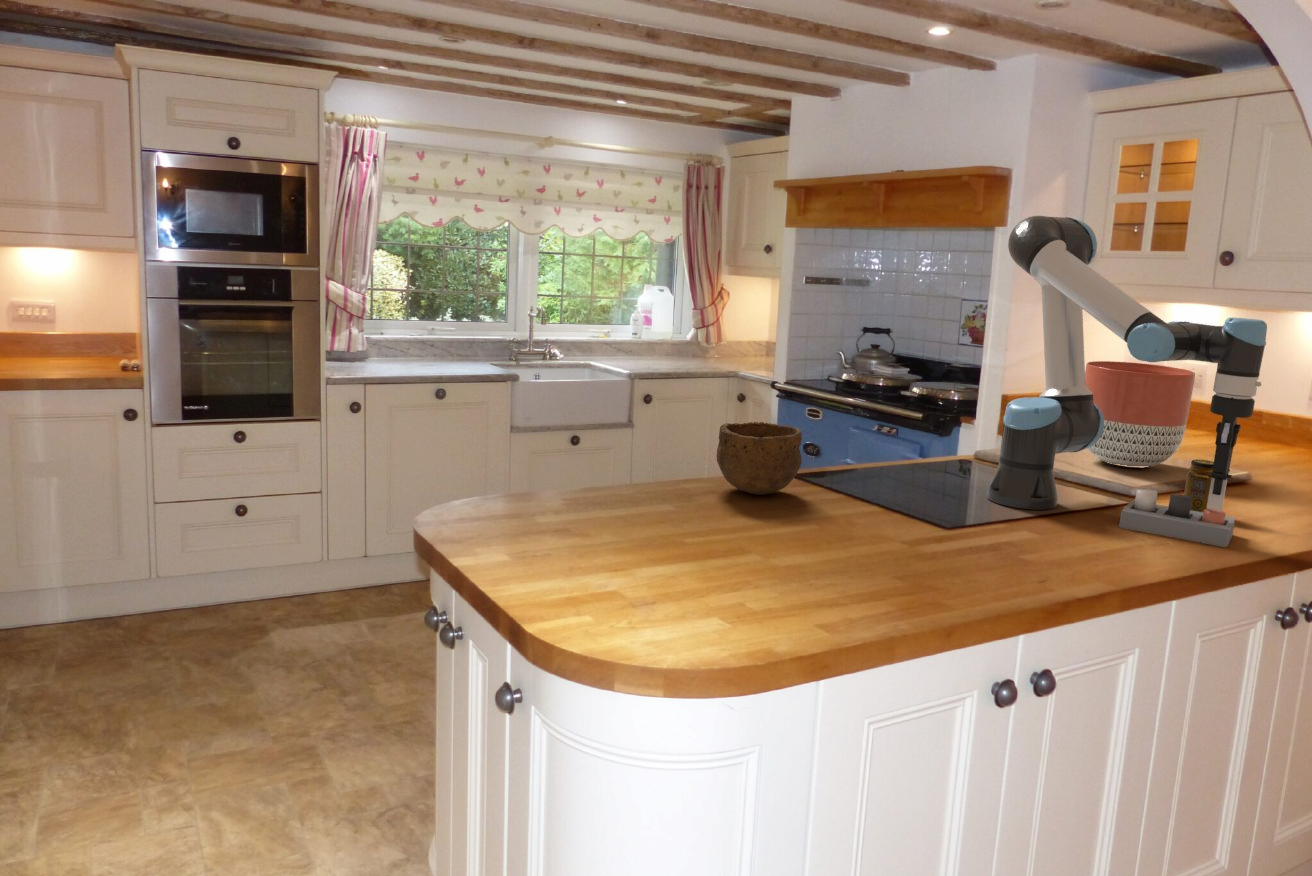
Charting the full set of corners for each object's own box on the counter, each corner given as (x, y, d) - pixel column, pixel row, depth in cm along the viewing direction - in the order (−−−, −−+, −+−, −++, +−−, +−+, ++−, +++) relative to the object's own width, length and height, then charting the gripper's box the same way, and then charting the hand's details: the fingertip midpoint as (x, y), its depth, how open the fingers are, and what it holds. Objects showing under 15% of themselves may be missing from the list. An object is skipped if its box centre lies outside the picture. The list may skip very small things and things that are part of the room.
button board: (1119, 527, 212) (1121, 510, 211) (1129, 515, 222) (1131, 500, 221) (1226, 547, 201) (1229, 530, 200) (1232, 534, 211) (1235, 518, 210)
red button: (1199, 530, 207) (1202, 511, 206) (1202, 526, 210) (1205, 507, 209) (1221, 534, 205) (1224, 515, 204) (1223, 530, 208) (1226, 511, 207)
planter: (1062, 464, 272) (1076, 365, 267) (1085, 450, 294) (1098, 358, 289) (1171, 482, 258) (1187, 378, 252) (1186, 466, 279) (1201, 369, 274)
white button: (1132, 508, 214) (1135, 490, 213) (1135, 505, 217) (1138, 487, 216) (1153, 512, 212) (1156, 494, 211) (1156, 508, 215) (1159, 490, 214)
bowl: (702, 496, 220) (706, 429, 217) (729, 478, 237) (733, 416, 234) (785, 508, 213) (791, 439, 210) (807, 489, 230) (812, 426, 227)
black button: (1166, 514, 210) (1169, 496, 209) (1169, 511, 213) (1172, 492, 213) (1187, 518, 208) (1190, 499, 207) (1190, 514, 211) (1193, 496, 210)
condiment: (1219, 515, 226) (1228, 463, 224) (1199, 519, 222) (1207, 466, 219) (1187, 507, 232) (1196, 456, 230) (1167, 511, 228) (1175, 459, 225)
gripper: (1252, 401, 195) (1231, 519, 199) (1258, 394, 205) (1238, 506, 210) (1209, 396, 199) (1189, 511, 204) (1216, 390, 209) (1197, 499, 214)
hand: (1214, 508), depth 207 cm, fingers closed
